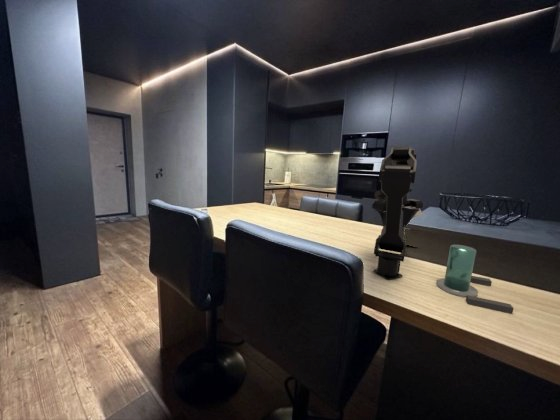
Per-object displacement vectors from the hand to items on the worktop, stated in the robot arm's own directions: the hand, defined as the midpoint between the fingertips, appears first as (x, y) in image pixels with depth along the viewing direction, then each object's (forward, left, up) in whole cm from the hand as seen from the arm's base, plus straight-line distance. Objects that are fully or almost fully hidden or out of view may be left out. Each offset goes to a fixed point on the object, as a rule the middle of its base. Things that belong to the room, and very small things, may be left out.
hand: (395, 227), depth 87 cm
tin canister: (+2, -22, -12) cm, 25 cm away
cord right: (+1, -31, -13) cm, 34 cm away
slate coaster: (+3, -22, -13) cm, 26 cm away
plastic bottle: (+22, +10, -13) cm, 28 cm away
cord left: (+12, -21, -13) cm, 27 cm away
